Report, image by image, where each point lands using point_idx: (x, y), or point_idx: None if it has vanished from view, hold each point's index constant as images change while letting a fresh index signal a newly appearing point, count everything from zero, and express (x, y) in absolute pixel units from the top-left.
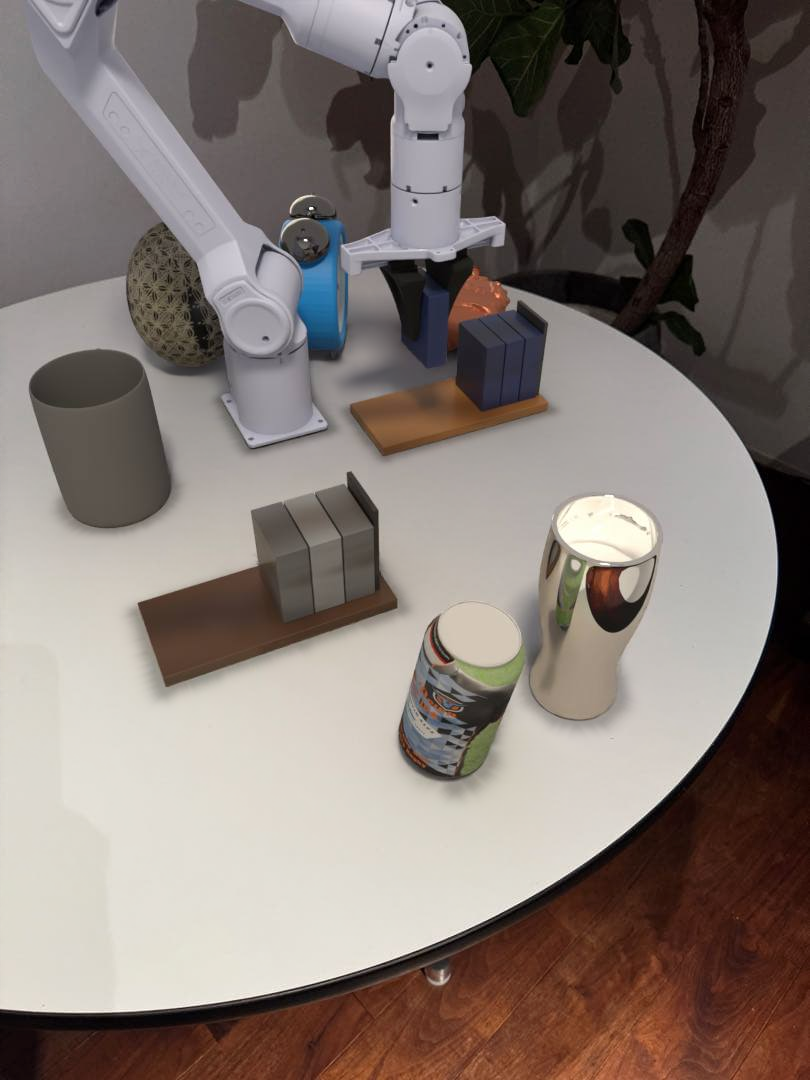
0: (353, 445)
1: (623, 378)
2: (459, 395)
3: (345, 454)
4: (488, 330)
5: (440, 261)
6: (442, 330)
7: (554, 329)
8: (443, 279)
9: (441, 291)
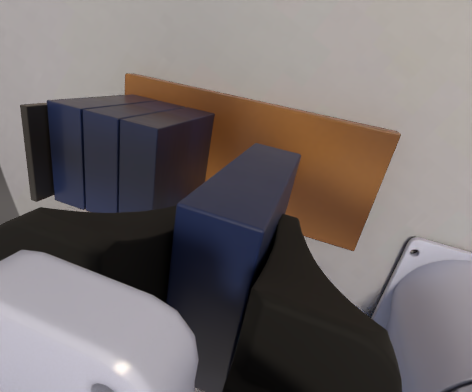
0: (411, 183)
1: (21, 72)
2: (215, 165)
3: (440, 173)
4: (122, 177)
5: (153, 295)
6: (243, 168)
7: (43, 204)
8: (150, 271)
9: (194, 231)
